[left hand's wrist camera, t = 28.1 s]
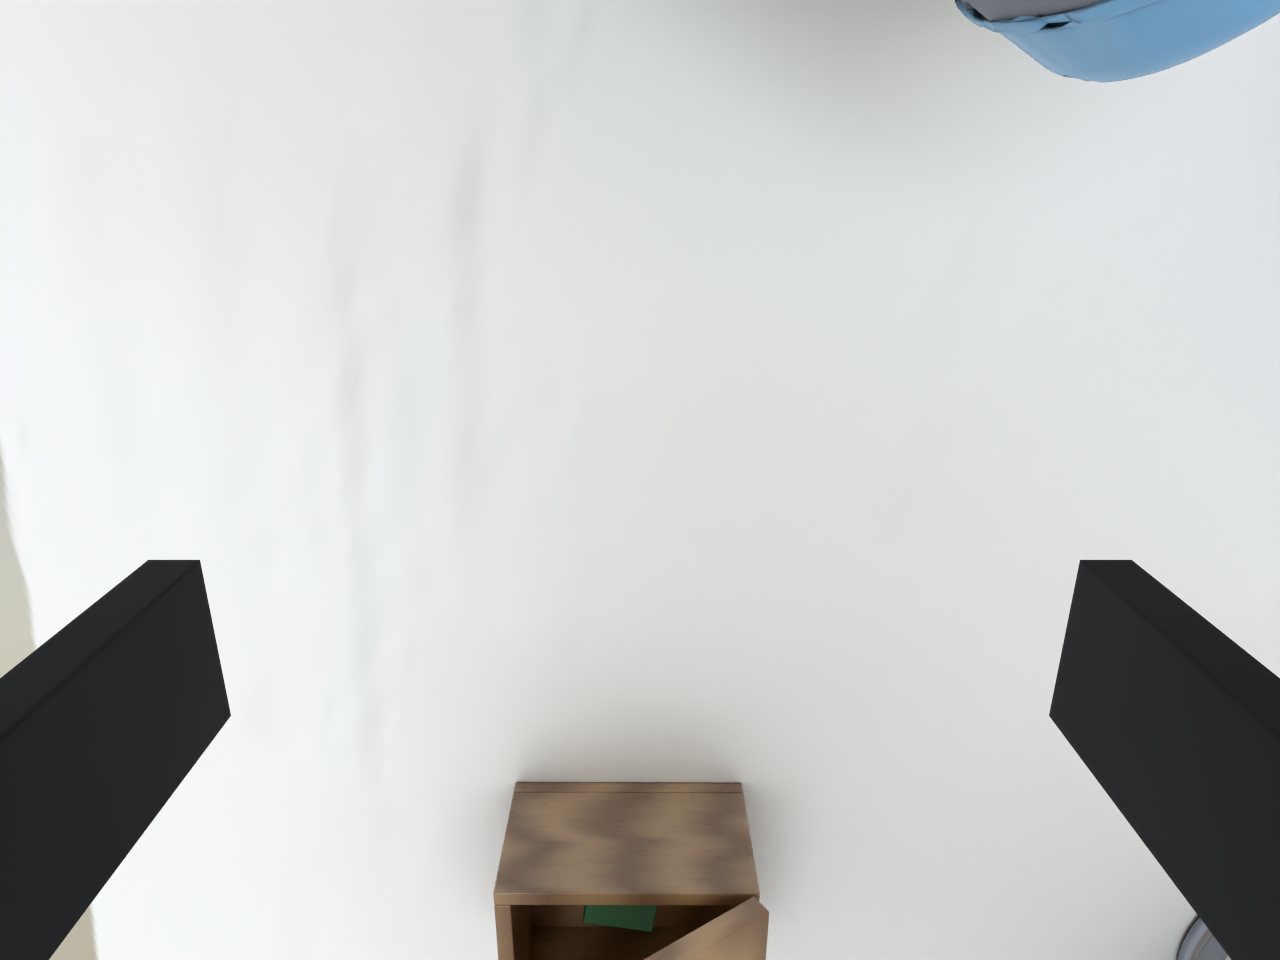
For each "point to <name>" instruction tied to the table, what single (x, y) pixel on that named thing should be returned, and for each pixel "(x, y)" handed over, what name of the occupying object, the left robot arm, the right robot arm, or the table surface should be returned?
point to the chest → (618, 865)
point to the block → (621, 916)
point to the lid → (724, 937)
